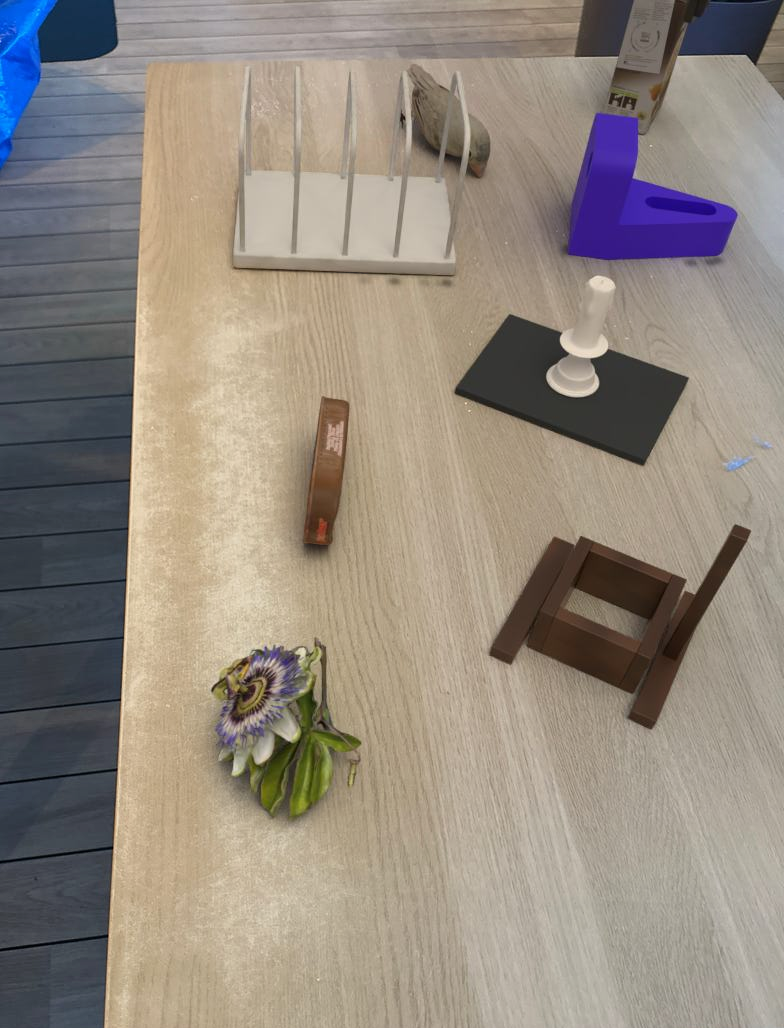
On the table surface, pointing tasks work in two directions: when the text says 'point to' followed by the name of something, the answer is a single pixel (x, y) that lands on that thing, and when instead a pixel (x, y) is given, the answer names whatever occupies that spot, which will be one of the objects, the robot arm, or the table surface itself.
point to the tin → (326, 471)
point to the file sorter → (347, 204)
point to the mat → (592, 419)
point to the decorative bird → (431, 120)
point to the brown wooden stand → (625, 588)
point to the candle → (584, 342)
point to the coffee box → (647, 59)
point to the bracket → (637, 205)
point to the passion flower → (280, 726)
